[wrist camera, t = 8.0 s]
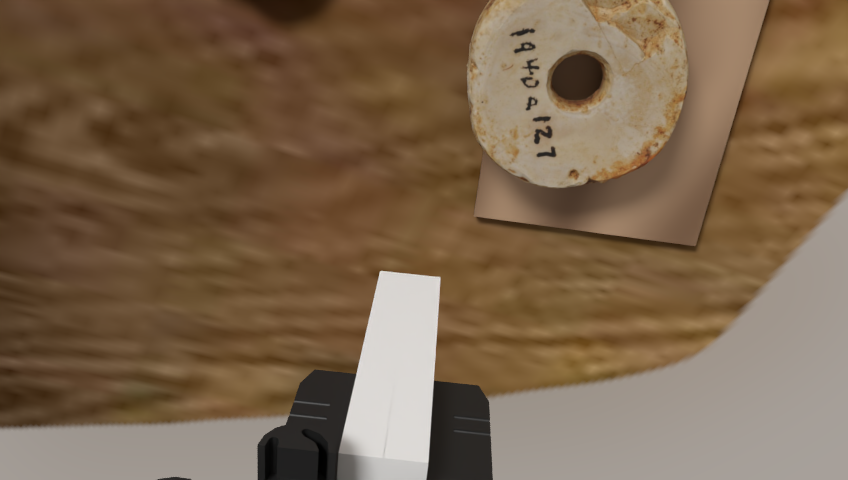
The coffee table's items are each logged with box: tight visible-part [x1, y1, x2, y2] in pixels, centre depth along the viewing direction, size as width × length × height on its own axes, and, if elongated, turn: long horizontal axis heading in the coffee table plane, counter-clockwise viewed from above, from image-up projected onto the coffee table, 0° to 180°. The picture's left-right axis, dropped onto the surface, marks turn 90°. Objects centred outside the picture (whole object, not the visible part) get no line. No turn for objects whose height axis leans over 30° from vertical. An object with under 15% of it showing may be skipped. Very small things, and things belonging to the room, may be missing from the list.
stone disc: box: [467, 0, 689, 188], centre depth 34 cm, size 10×4×10 cm
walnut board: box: [474, 0, 769, 246], centre depth 37 cm, size 12×14×1 cm
